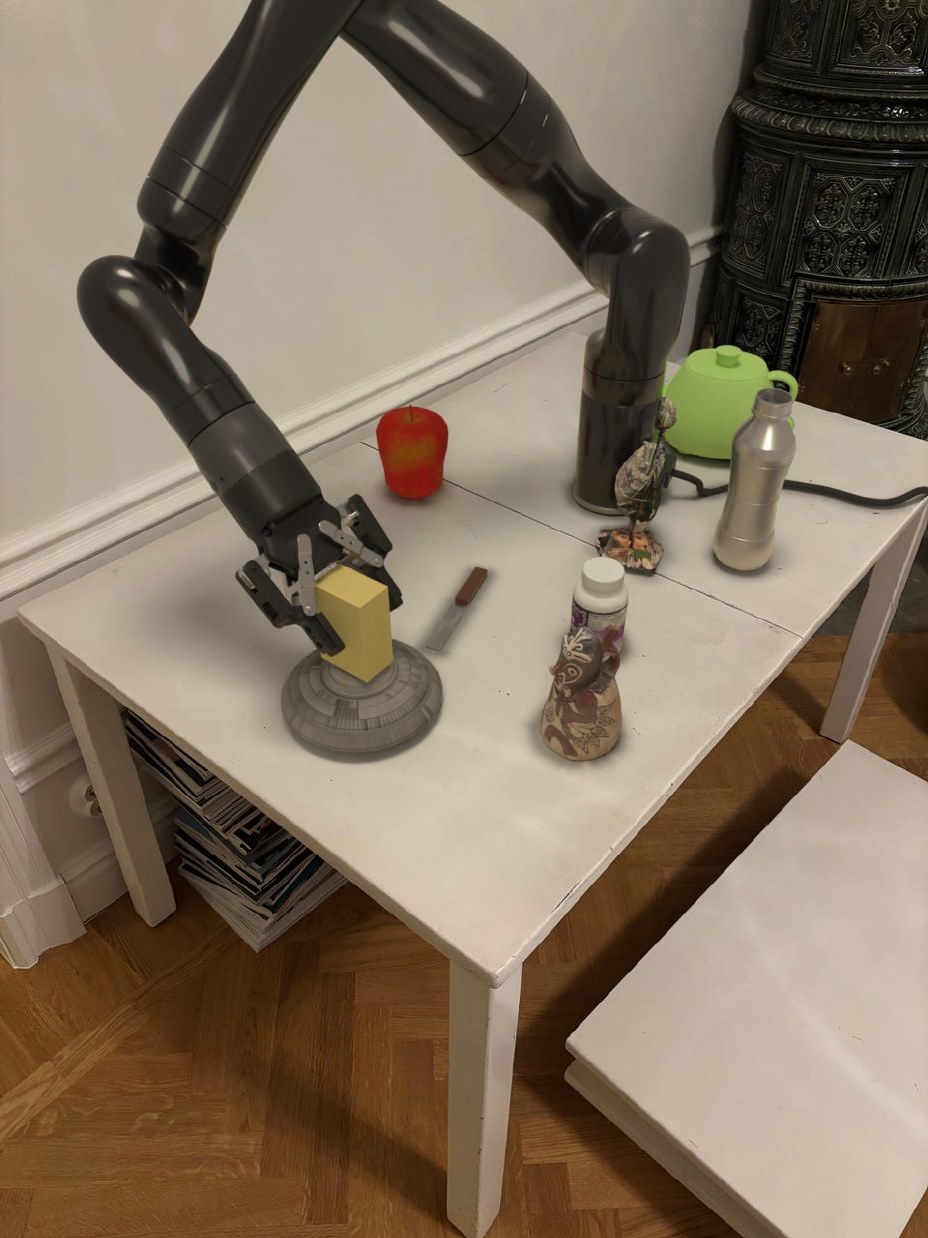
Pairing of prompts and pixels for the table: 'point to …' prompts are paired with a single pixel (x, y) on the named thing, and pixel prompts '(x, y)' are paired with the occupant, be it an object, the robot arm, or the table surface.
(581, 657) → the figurine
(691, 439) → the teapot
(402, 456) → the apple
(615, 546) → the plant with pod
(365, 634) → the butter portion
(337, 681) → the flying saucer
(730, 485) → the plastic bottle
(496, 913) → the table surface
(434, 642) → the butter knife
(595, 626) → the pill bottle
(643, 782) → the table surface
